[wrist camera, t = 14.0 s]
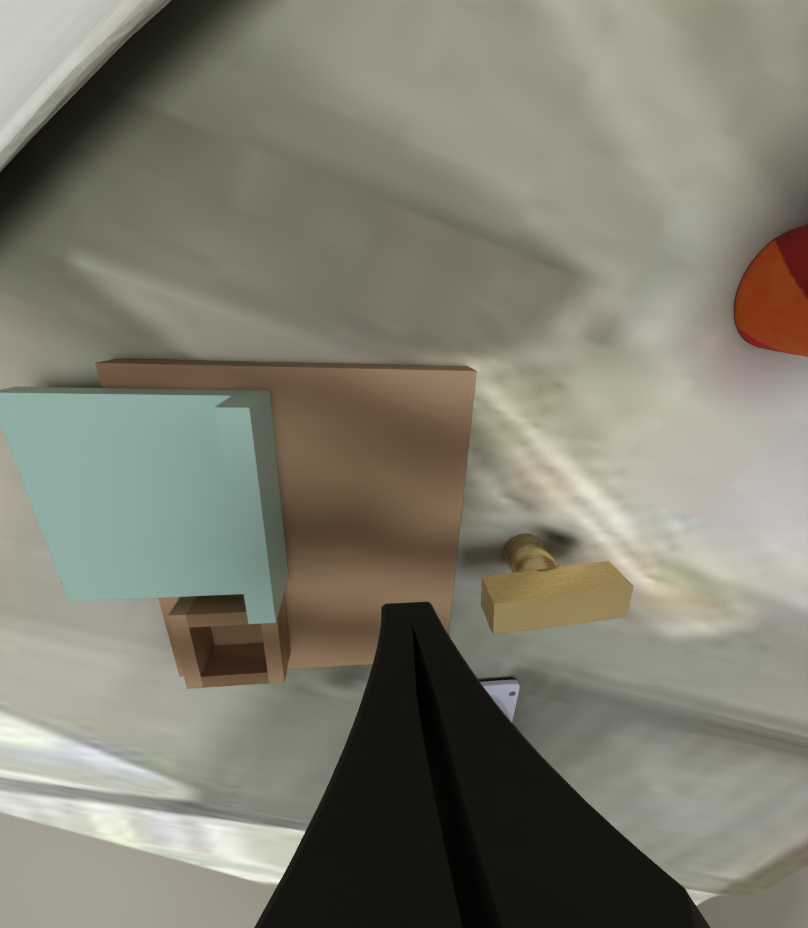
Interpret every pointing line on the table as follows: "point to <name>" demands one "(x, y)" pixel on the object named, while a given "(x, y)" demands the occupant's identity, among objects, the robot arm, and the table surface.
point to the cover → (153, 491)
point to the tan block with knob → (550, 591)
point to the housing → (332, 509)
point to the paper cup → (776, 296)
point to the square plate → (56, 56)
